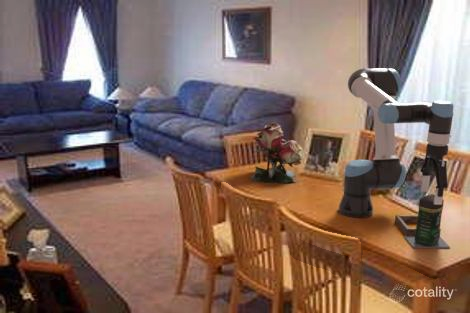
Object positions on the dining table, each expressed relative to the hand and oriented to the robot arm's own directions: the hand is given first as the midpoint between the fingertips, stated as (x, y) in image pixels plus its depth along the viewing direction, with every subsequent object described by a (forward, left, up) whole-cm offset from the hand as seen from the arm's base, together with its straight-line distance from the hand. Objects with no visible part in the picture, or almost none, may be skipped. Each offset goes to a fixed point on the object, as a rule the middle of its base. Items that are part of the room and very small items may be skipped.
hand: (430, 197), depth 191 cm
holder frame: (+1, +14, -18) cm, 23 cm away
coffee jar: (0, -1, -18) cm, 18 cm away
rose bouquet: (-52, +87, -19) cm, 103 cm away
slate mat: (0, 0, -18) cm, 18 cm away
